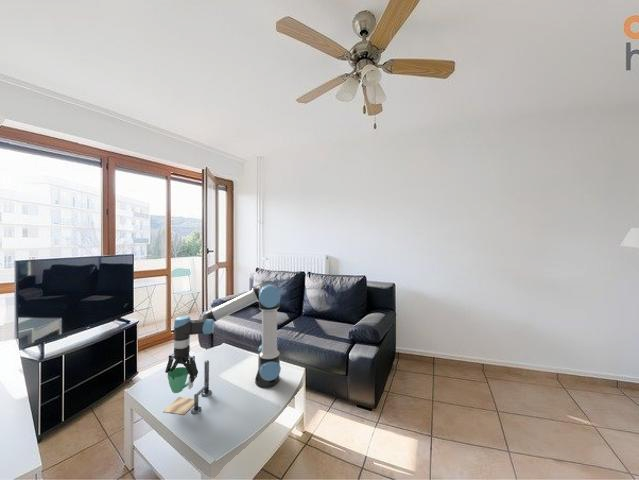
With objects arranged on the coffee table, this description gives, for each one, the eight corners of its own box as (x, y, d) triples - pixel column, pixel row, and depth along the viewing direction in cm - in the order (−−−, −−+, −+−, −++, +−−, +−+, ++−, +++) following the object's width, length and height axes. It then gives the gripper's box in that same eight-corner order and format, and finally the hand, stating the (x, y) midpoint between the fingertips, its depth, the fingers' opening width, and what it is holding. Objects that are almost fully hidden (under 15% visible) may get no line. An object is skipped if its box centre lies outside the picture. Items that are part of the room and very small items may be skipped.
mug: (168, 398, 131) (168, 379, 131) (165, 388, 139) (166, 370, 139) (199, 389, 140) (200, 371, 140) (195, 380, 148) (196, 362, 147)
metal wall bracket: (217, 391, 153) (218, 360, 152) (197, 414, 134) (197, 378, 133) (204, 390, 154) (205, 358, 153) (183, 412, 135) (183, 376, 134)
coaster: (198, 400, 145) (198, 399, 145) (184, 415, 133) (184, 414, 133) (179, 397, 147) (179, 396, 147) (163, 412, 135) (163, 411, 135)
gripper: (205, 344, 141) (205, 385, 142) (167, 341, 144) (167, 380, 145) (197, 351, 133) (196, 393, 134) (157, 347, 137) (157, 388, 138)
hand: (181, 386), depth 140 cm, fingers closed on mug, 10 cm apart
